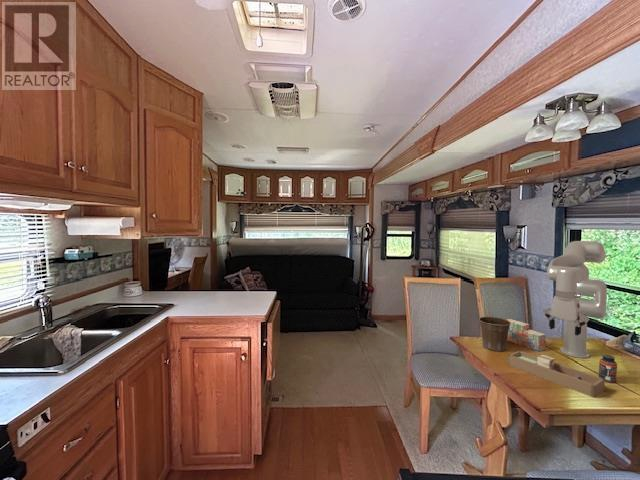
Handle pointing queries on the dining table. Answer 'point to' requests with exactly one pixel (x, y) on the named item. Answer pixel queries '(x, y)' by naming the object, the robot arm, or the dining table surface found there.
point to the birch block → (545, 361)
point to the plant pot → (494, 333)
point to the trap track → (558, 374)
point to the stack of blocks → (525, 336)
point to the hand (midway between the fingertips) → (564, 331)
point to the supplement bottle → (608, 368)
